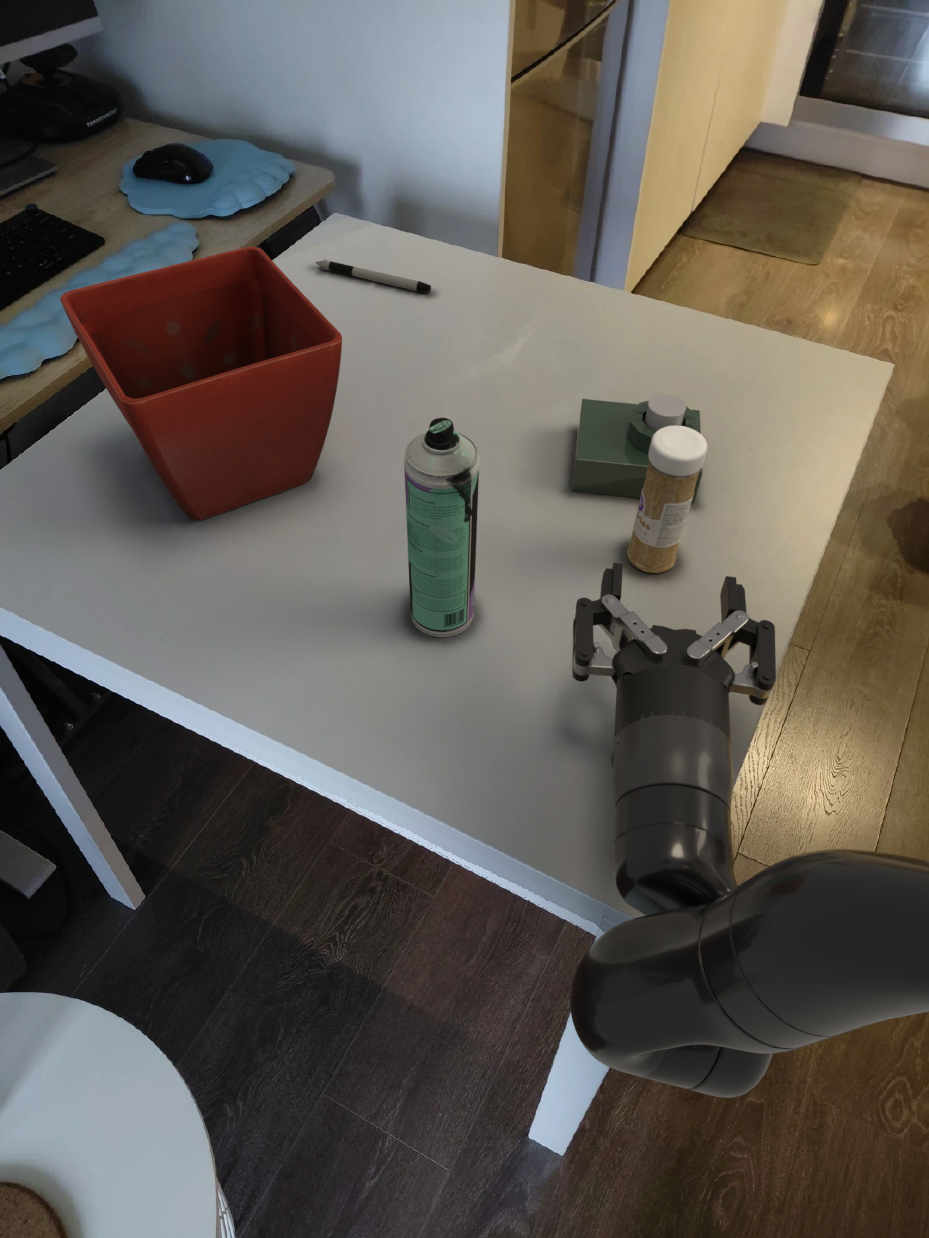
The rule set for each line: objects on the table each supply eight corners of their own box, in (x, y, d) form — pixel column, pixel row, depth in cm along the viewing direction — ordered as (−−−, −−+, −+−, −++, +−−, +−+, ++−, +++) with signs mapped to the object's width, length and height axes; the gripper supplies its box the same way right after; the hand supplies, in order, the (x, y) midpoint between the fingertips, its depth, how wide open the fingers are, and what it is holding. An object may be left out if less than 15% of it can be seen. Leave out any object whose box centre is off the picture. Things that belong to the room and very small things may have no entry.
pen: (427, 296, 113) (427, 286, 112) (312, 269, 117) (311, 259, 116) (432, 291, 114) (432, 281, 113) (317, 264, 118) (316, 255, 117)
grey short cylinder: (681, 413, 88) (685, 395, 87) (682, 435, 86) (686, 418, 85) (644, 409, 89) (648, 392, 87) (644, 432, 86) (647, 414, 85)
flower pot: (360, 489, 89) (347, 336, 76) (173, 559, 82) (123, 404, 69) (281, 391, 99) (257, 242, 87) (109, 446, 92) (55, 293, 80)
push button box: (691, 441, 95) (704, 393, 90) (693, 504, 88) (707, 455, 83) (577, 430, 96) (584, 381, 91) (571, 491, 89) (578, 442, 84)
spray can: (485, 606, 79) (495, 417, 64) (451, 647, 76) (453, 458, 61) (433, 581, 81) (430, 392, 65) (398, 620, 77) (387, 431, 62)
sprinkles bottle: (619, 545, 84) (643, 427, 74) (664, 537, 85) (694, 419, 75) (637, 579, 81) (665, 461, 71) (684, 571, 82) (718, 453, 72)
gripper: (800, 734, 55) (779, 552, 66) (569, 704, 57) (585, 530, 67) (767, 797, 61) (752, 620, 72) (557, 768, 62) (573, 598, 73)
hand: (671, 577), depth 69 cm, fingers open, 8 cm apart
